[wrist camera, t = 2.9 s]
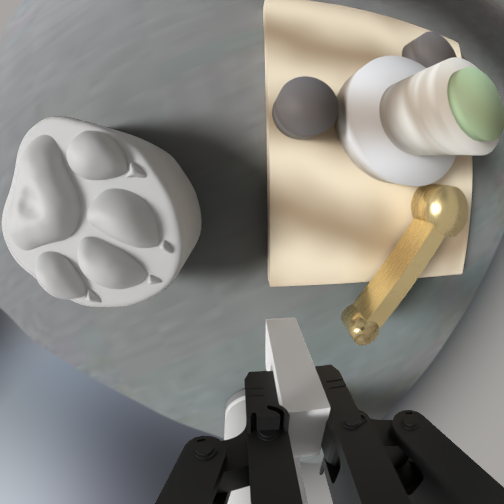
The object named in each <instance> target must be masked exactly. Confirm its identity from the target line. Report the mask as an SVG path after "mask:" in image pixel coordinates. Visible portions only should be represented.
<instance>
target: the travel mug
mask: <svg viewBox="0 0 504 504" xmlns="http://www.w3.org/2000/svg"><path fill="white" fill-rule="evenodd" d="M245 427H246V403H245V389H243V390H240V391H238V392H236V393H235V394H234V395H232V396H231V397H230V398H229V400H228V401H227V403H226V410H225V436H224V440H228V439H231V438H234V437H236V436H238V435H239V434H241V433H242V432H243V431H244V429H245ZM294 462H295V467H296V472H297V477H298V482H299V487H300V492H301V497H302V502H303V504H308V502H307V497H306V493H305V487H304V482H303V478H302V472H301V467H300V462H299V457H294ZM227 504H251V499H250V486H247V487H244V488H241V489H237V490H234V491H231V494H230V497H229V500H228V503H227Z"/></svg>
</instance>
